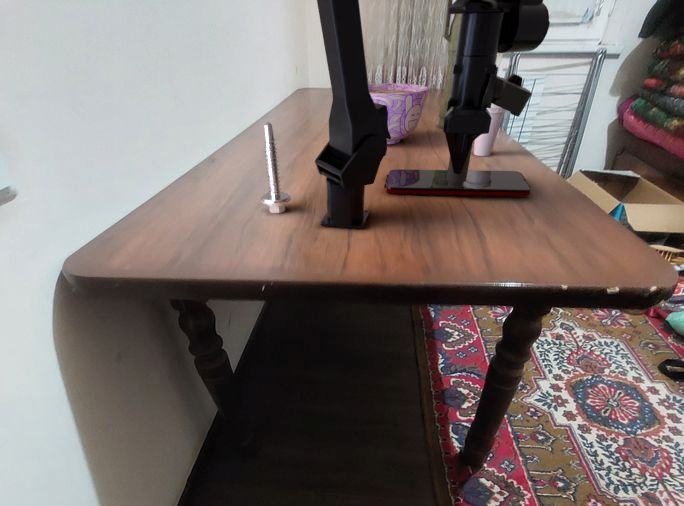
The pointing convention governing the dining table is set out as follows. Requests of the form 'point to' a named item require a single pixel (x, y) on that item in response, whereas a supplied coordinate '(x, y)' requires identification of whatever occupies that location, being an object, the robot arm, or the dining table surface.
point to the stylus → (458, 179)
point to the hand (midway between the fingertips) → (457, 170)
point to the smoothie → (486, 141)
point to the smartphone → (474, 185)
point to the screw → (273, 175)
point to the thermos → (449, 59)
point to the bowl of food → (400, 106)
